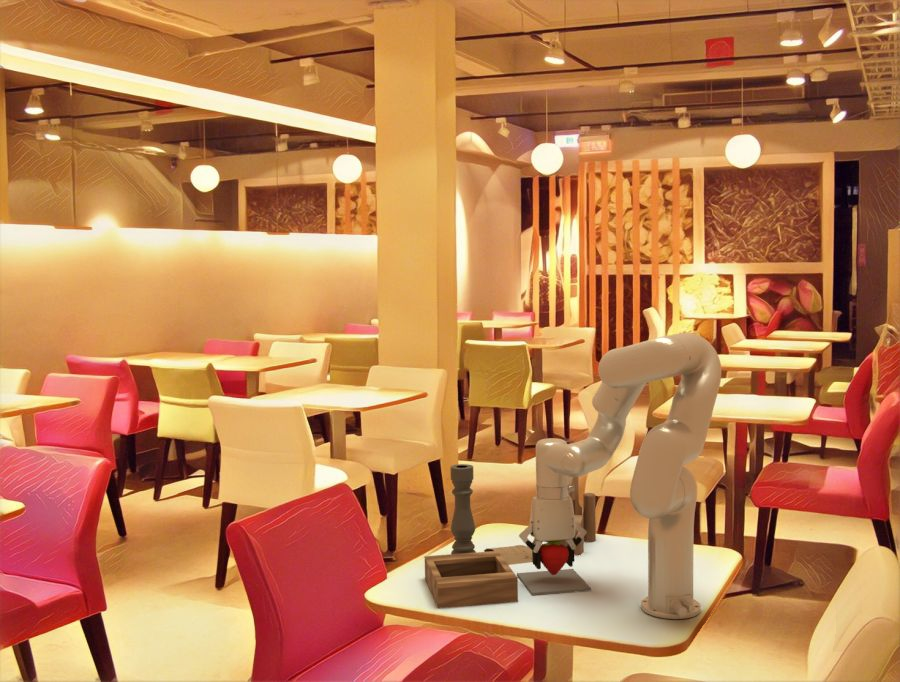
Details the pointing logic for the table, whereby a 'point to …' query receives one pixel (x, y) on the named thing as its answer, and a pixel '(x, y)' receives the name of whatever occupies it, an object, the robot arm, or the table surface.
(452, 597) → the wooden box
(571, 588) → the mat
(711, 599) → the table surface
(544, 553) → the strawberry
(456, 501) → the candle holder
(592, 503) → the wooden toy
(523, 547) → the clay tablet
